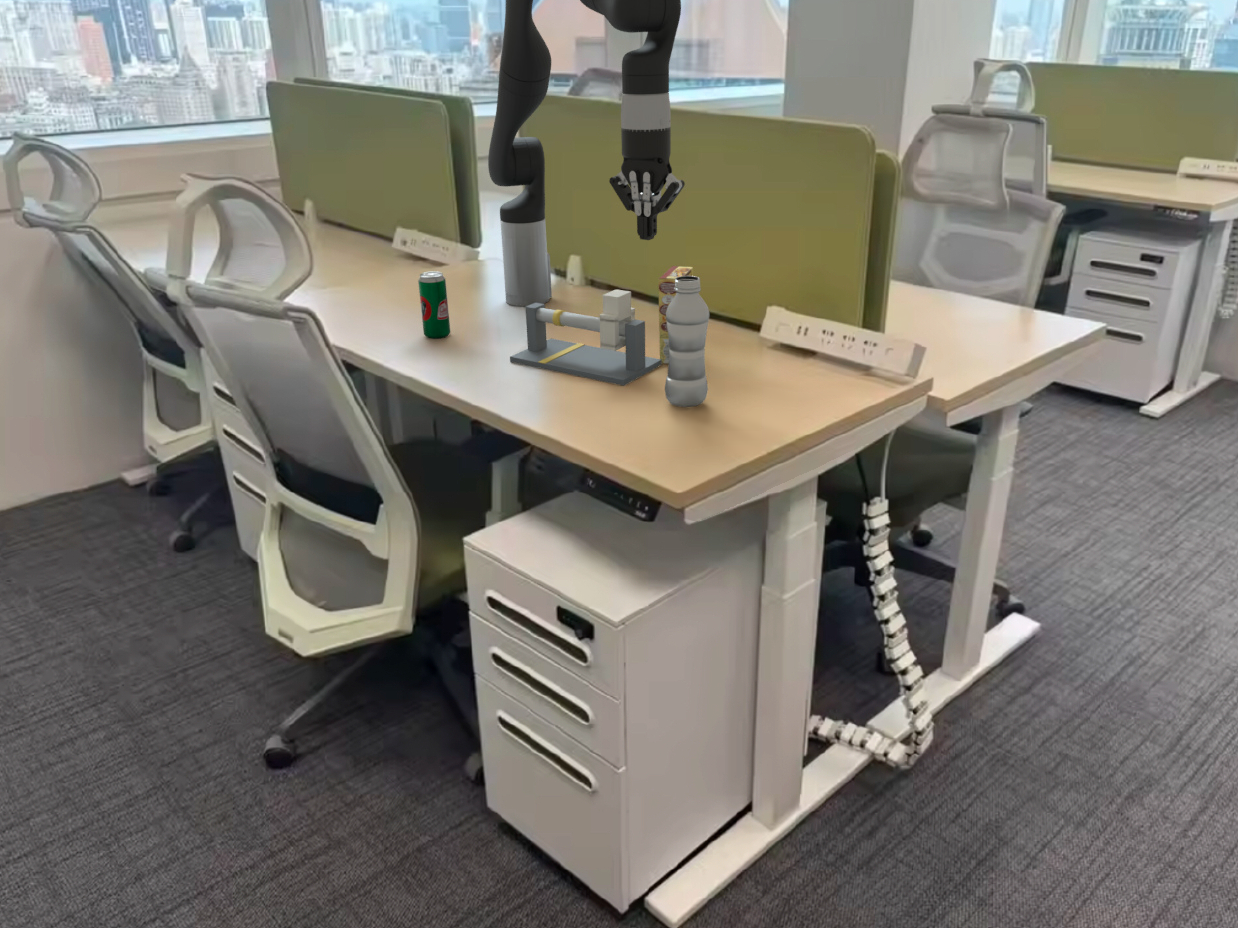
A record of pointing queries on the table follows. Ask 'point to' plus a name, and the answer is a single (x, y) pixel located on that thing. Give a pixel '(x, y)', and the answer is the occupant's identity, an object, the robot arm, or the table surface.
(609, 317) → the collar
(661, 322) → the candy box
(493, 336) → the table surface
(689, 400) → the plastic bottle
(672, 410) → the table surface
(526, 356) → the rail stand
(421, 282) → the soda can
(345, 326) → the table surface
